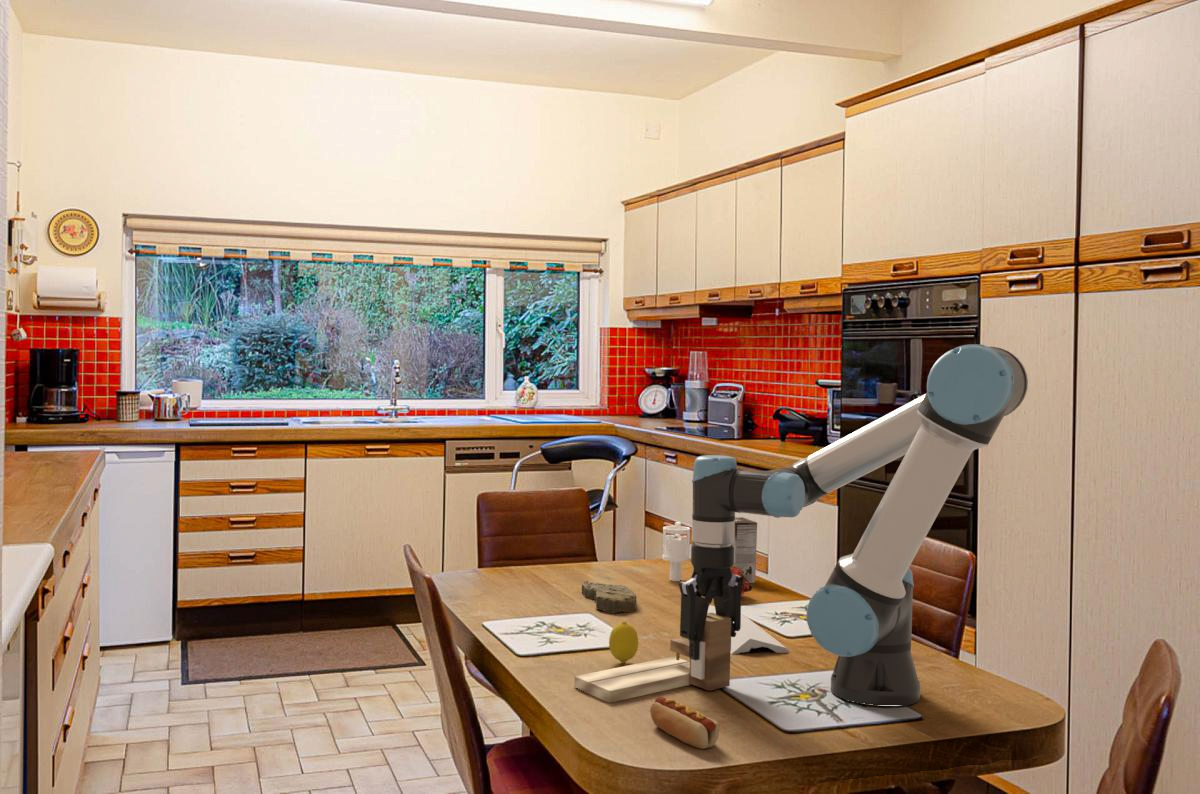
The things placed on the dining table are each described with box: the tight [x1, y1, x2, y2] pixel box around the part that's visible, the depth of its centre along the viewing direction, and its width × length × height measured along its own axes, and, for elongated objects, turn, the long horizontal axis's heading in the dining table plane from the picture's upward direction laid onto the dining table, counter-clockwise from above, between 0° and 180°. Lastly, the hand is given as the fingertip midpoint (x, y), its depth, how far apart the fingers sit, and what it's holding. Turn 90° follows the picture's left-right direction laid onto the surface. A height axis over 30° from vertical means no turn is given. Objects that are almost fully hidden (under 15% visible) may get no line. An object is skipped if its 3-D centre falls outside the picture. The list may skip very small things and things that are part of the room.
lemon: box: [608, 620, 639, 664], centre depth 200 cm, size 6×6×8 cm
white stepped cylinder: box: [662, 521, 691, 582], centre depth 278 cm, size 7×7×15 cm
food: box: [649, 696, 720, 750], centre depth 161 cm, size 14×6×5 cm, turn 32°
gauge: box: [669, 612, 731, 691], centre depth 189 cm, size 12×5×12 cm, turn 37°
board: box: [574, 656, 692, 704], centre depth 187 cm, size 10×23×2 cm, turn 127°
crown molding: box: [707, 604, 790, 655], centre depth 223 cm, size 29×12×4 cm, turn 10°
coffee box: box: [731, 516, 758, 584], centre depth 280 cm, size 9×6×16 cm
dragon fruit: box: [730, 566, 753, 598], centre depth 259 cm, size 8×8×12 cm
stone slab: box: [581, 580, 637, 614], centre depth 253 cm, size 27×12×5 cm, turn 17°
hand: (709, 674), depth 186 cm, fingers closed on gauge, 5 cm apart
